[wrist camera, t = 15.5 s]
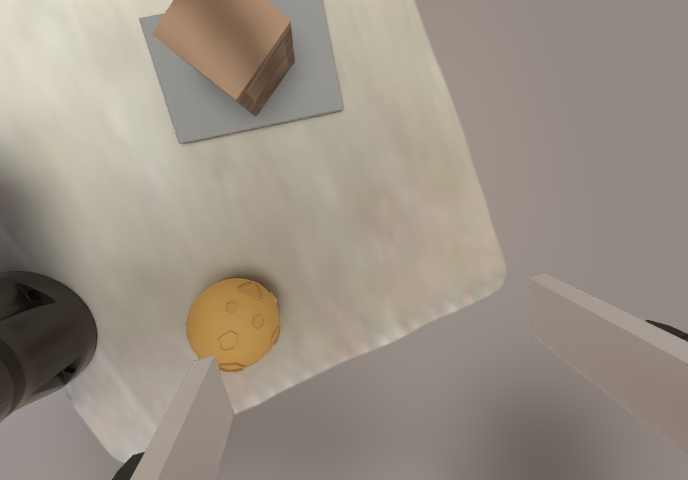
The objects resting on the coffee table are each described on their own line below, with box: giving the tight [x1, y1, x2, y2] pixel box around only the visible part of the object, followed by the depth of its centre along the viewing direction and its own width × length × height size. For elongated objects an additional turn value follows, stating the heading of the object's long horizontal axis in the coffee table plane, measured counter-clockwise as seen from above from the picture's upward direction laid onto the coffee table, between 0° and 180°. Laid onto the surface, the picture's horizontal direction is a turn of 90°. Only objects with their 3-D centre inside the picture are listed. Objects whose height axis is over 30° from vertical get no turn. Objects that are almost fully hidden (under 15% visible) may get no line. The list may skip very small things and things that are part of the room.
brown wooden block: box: [152, 0, 295, 117], centre depth 30 cm, size 7×7×11 cm
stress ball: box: [186, 278, 281, 372], centre depth 38 cm, size 10×10×10 cm
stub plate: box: [139, 0, 343, 144], centre depth 33 cm, size 18×12×8 cm, turn 102°
